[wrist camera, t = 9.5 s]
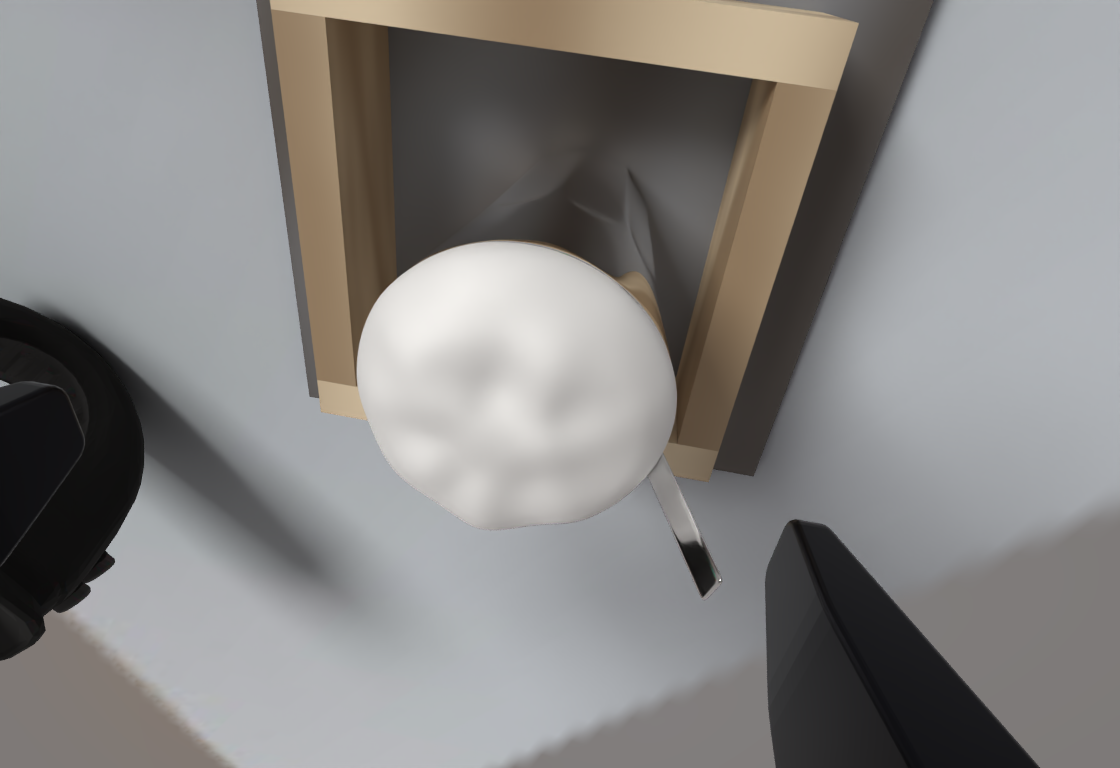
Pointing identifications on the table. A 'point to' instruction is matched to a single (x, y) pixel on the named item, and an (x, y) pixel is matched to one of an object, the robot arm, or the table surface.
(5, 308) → the controller
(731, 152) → the wooden frame tray
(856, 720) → the robot arm
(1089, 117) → the table surface
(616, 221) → the milkshake
